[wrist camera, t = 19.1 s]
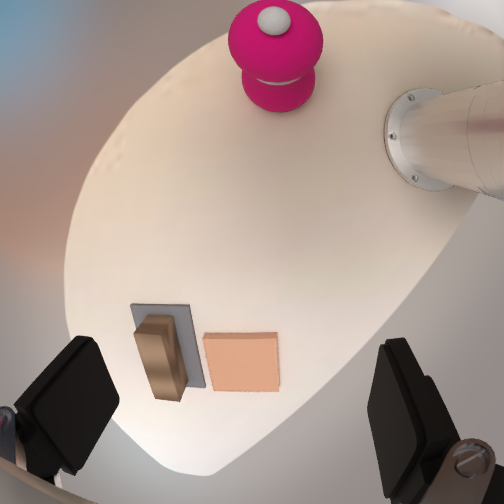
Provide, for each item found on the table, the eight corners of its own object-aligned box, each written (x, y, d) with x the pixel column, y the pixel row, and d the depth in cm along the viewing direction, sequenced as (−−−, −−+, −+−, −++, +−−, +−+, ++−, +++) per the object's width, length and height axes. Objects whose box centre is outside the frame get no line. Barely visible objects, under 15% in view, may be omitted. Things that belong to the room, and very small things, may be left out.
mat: (189, 304, 41) (188, 306, 40) (205, 386, 46) (205, 388, 45) (131, 303, 42) (130, 305, 41) (154, 381, 47) (153, 383, 46)
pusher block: (147, 314, 42) (133, 333, 37) (173, 315, 41) (161, 335, 36) (165, 378, 45) (155, 398, 41) (188, 380, 45) (179, 401, 40)
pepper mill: (305, 121, 32) (335, 88, 13) (242, 110, 32) (191, 68, 13) (315, 63, 30) (349, -22, 11) (252, 53, 30) (218, -38, 11)
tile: (202, 338, 41) (213, 390, 44) (276, 338, 40) (279, 391, 43) (205, 330, 43) (215, 382, 46) (276, 330, 42) (279, 382, 45)
